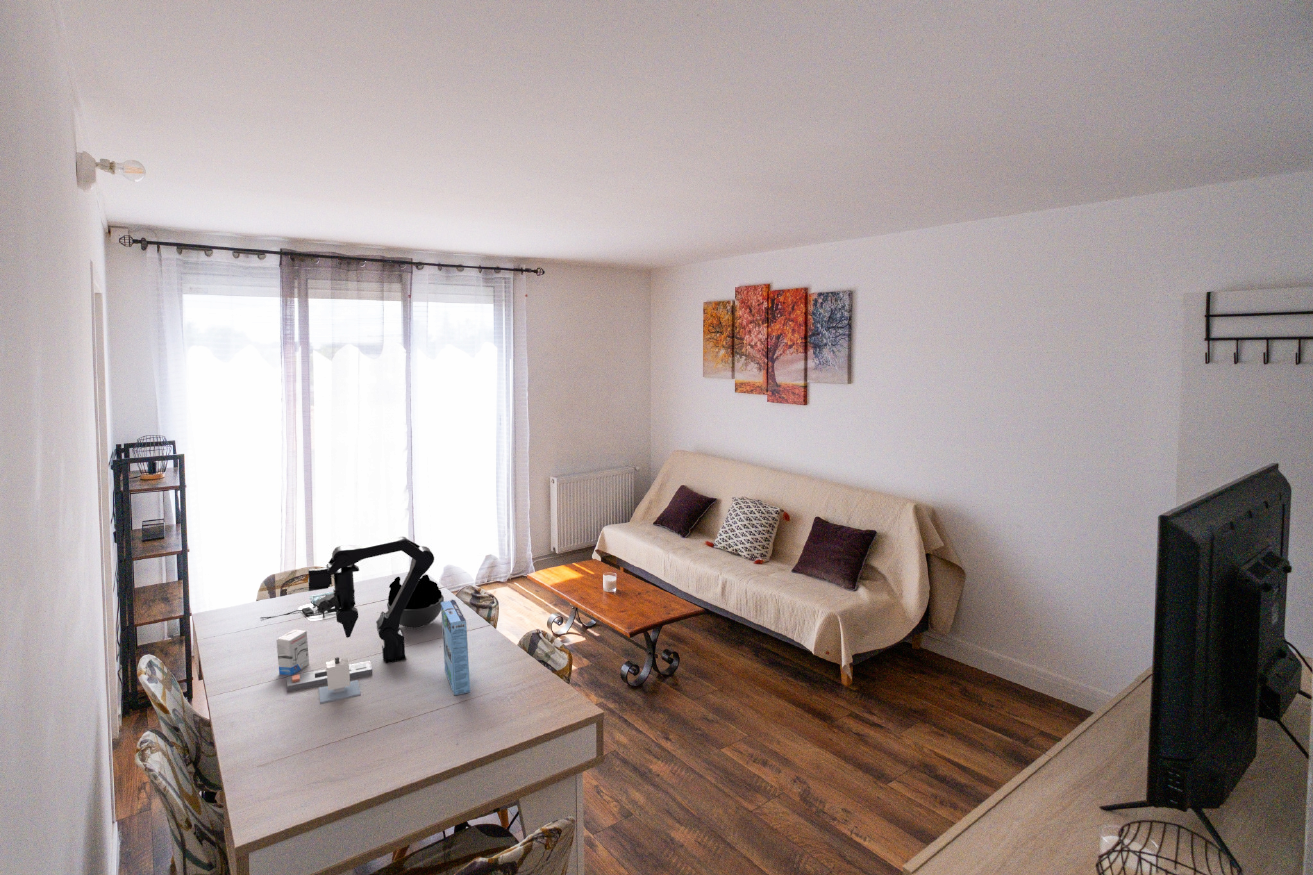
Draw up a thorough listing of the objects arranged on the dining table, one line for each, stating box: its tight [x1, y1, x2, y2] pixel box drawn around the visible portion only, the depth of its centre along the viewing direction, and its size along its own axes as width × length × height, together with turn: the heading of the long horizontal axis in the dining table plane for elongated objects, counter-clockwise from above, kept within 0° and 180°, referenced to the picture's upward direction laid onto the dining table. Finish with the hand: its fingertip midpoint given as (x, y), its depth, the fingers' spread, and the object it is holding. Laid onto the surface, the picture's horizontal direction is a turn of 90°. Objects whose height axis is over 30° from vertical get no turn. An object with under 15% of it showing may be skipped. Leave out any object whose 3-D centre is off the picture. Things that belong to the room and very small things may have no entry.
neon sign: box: [259, 591, 338, 622], centre depth 275 cm, size 21×4×29 cm
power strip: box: [286, 660, 373, 693], centre depth 222 cm, size 24×7×3 cm, turn 117°
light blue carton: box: [440, 599, 471, 696], centre depth 219 cm, size 20×5×23 cm, turn 25°
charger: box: [325, 656, 351, 693], centre depth 212 cm, size 6×4×10 cm
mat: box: [318, 679, 361, 705], centre depth 213 cm, size 11×10×1 cm
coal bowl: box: [386, 574, 445, 629], centre depth 262 cm, size 20×20×19 cm
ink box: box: [276, 629, 310, 676], centre depth 228 cm, size 9×5×12 cm, turn 168°
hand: (347, 632), depth 228 cm, fingers open, 9 cm apart
